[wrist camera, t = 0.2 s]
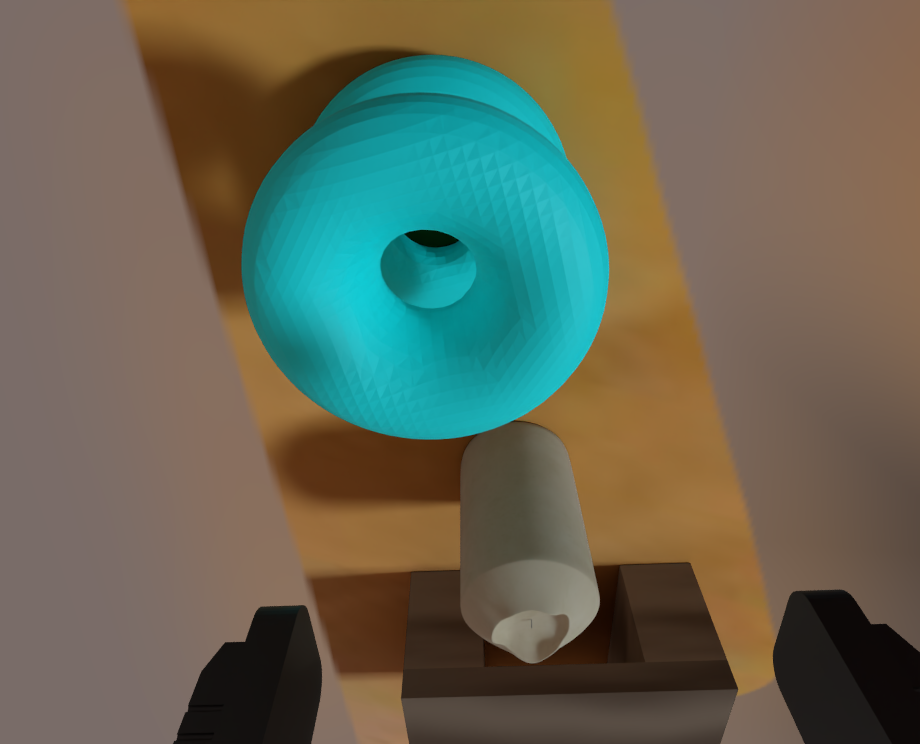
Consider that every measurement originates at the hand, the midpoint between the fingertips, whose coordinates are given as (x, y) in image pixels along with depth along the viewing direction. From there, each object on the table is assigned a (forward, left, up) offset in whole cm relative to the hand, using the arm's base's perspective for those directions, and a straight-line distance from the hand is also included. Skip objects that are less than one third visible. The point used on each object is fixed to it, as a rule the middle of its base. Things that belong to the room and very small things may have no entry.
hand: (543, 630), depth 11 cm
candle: (+12, +1, -18) cm, 22 cm away
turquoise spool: (-2, -2, -18) cm, 18 cm away
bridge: (+25, +3, -18) cm, 31 cm away
